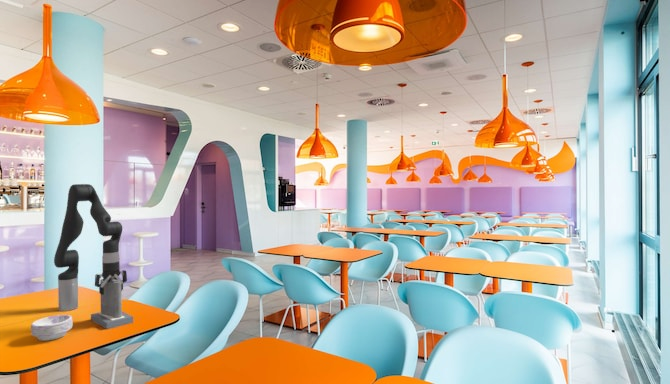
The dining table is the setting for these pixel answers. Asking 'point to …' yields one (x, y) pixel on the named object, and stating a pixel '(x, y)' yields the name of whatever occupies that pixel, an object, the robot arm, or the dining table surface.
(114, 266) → the robot arm
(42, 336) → the paper bowls
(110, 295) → the hip flask
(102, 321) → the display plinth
